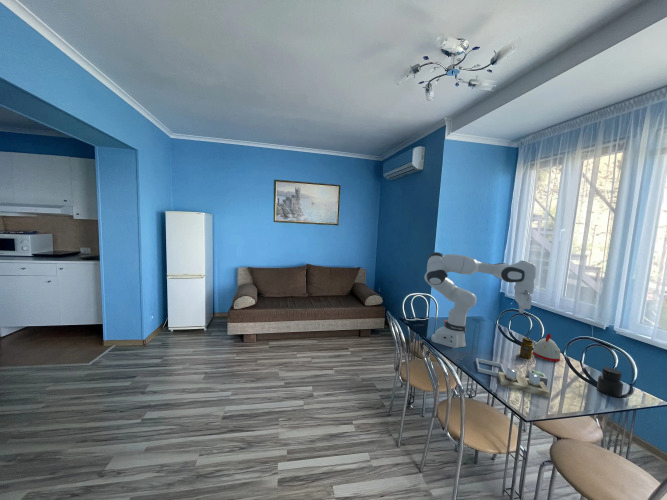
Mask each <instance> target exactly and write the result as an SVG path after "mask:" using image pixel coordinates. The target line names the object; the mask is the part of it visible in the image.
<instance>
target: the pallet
mask: <svg viewBox="0 0 667 500" xmlns="http://www.w3.org/2000/svg"><path fill="white" fill-rule="evenodd" d="M506 373H507V372H505V373H502V371H498V376H497V378H498V380H499V383H500V386H502V387H506V388H509V389H514V390H517V391H522V392H526V393H530V394H534V395H538V396H541V397H542V396H543V397H546V398H550V394H551V393H550V391H549V389H548V387H547V385H545V384H544V383H543V382H541V381H540V385H539V388H537V387H533V386H529V384H528V383H529V377H524V376H520V375H517V377H516V382H512V381H508V380H506Z"/></svg>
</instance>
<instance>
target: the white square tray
mask: <svg viewBox="0 0 667 500" xmlns="http://www.w3.org/2000/svg"><path fill="white" fill-rule="evenodd" d="M475 362H476V363H475V364H476V368H477V372H478V373H482V374H486V375H491V376H495V377H498V372H499V371H498V372H497V371H494V370H490V369H485V368H481V367H480V364H479V363H482V364H485V365H491V366H494V367H499V368H500V371H501V372H502V373H506V371H505V369H504V366H503V364H502V363H500V362H496V361H492V360H491V361H490V360H487V359H483V358H478V357H476V358H475Z"/></svg>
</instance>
